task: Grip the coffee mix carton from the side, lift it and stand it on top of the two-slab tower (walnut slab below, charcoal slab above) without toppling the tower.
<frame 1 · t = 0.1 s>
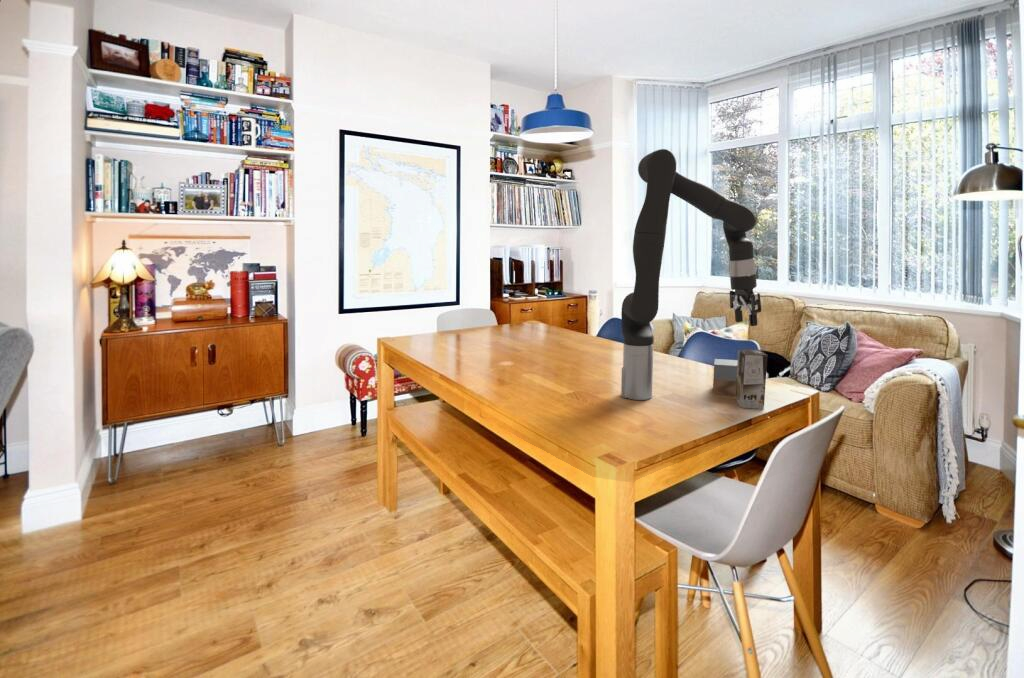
hand: (746, 323, 171), 22 cm above the table, tool pointing down, fingers open, 8 cm apart
coffee box: (749, 404, 160), on the table
slab top: (728, 377, 173), point 5 cm above the table, touching slab bottom
slab bottom: (727, 392, 174), on the table, touching slab top
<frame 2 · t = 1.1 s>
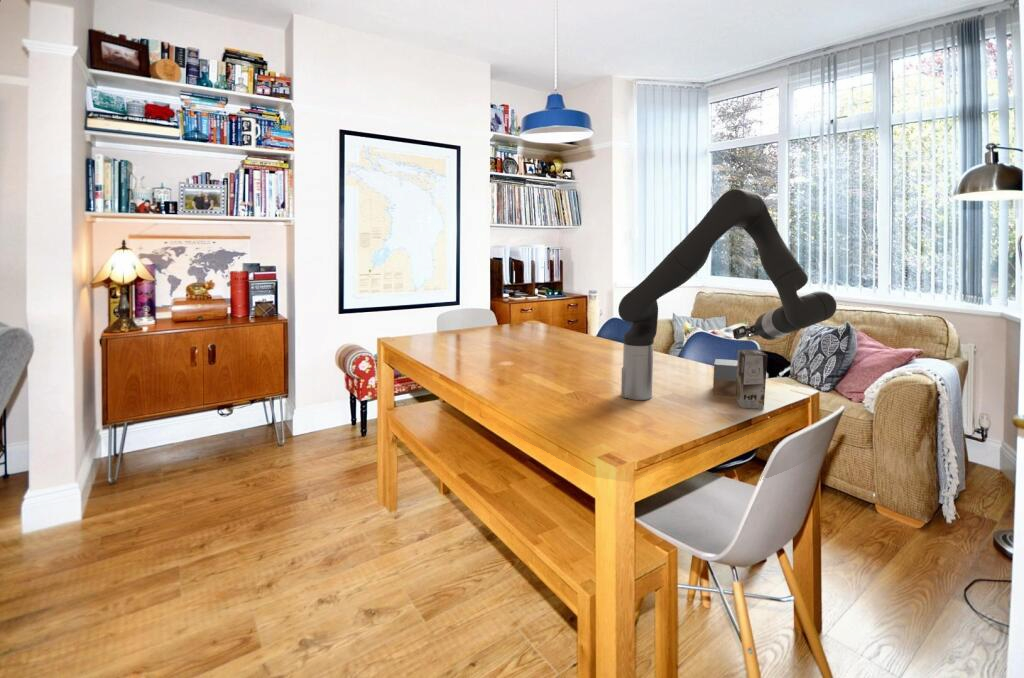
hand: (750, 334, 156), 22 cm above the table, tool tilted 70°, fingers open, 8 cm apart
nothing on the table moved.
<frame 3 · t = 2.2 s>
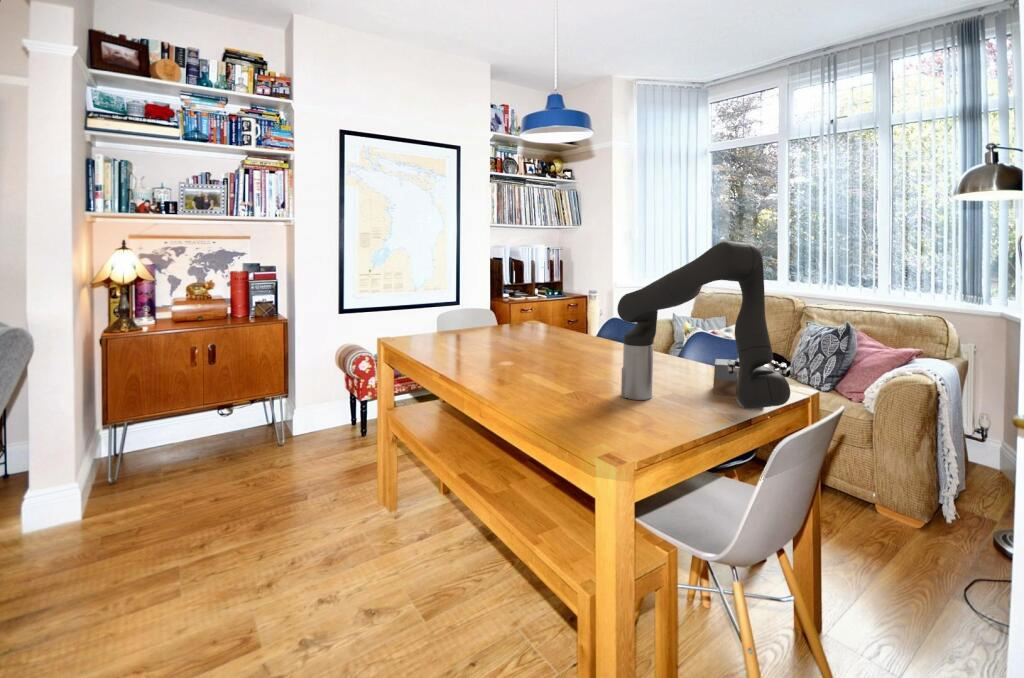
hand: (755, 362, 147), 15 cm above the table, tool horizontal, fingers open, 8 cm apart
nothing on the table moved.
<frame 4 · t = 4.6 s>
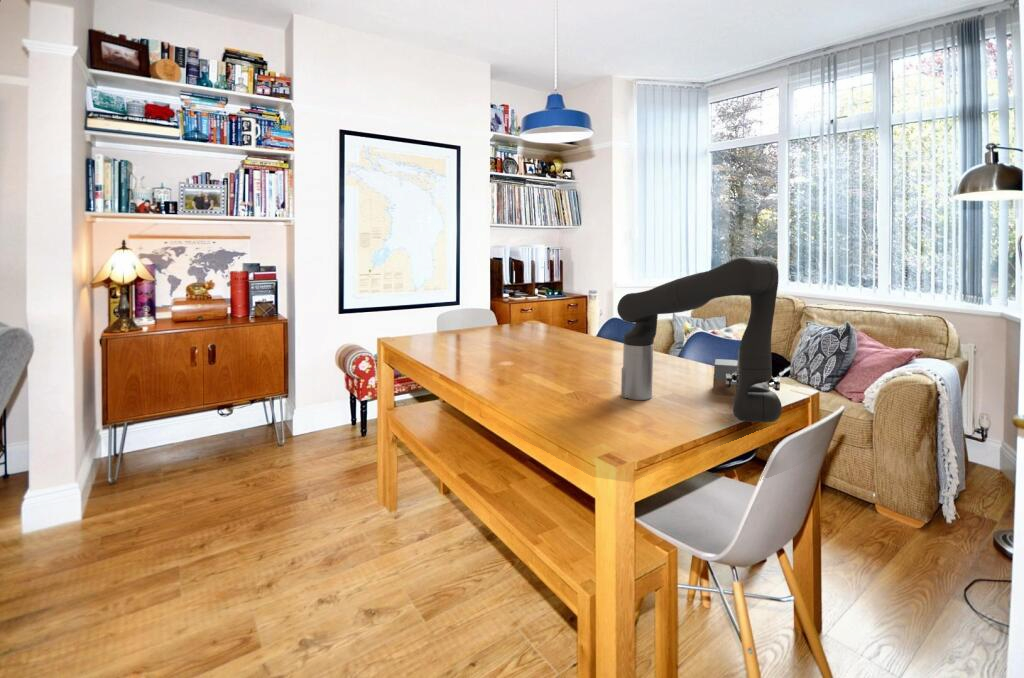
hand: (751, 375, 158), 9 cm above the table, tool horizontal, fingers open, 8 cm apart
nothing on the table moved.
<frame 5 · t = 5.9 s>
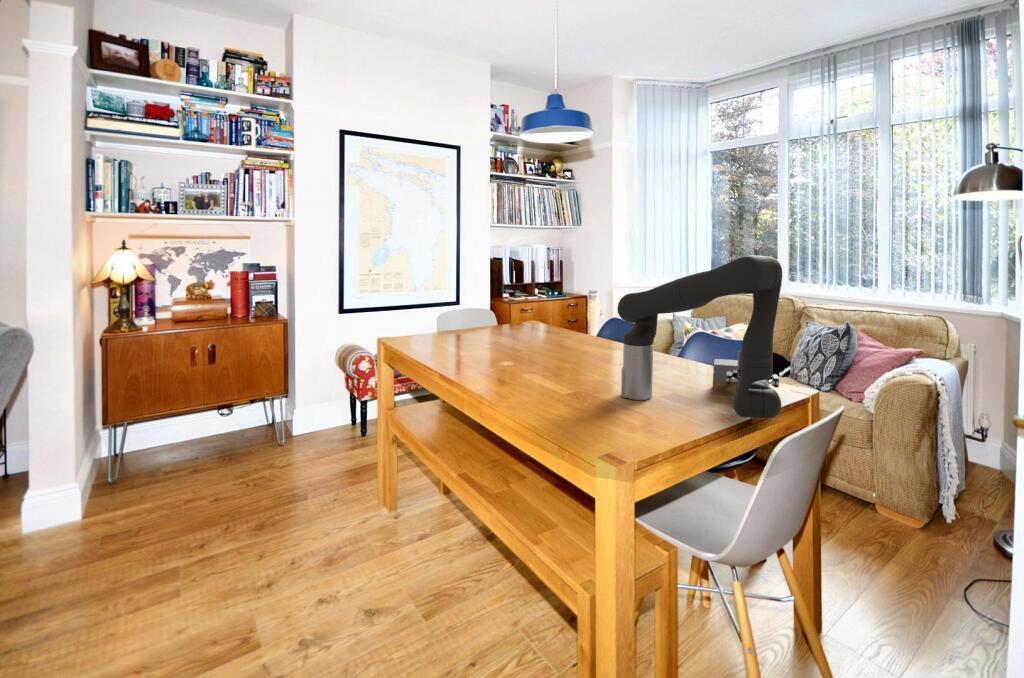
hand: (750, 373, 160), 9 cm above the table, tool horizontal, fingers closed on coffee box, 7 cm apart
coffee box: (749, 404, 160), on the table, touching gripper
everything else where it was.
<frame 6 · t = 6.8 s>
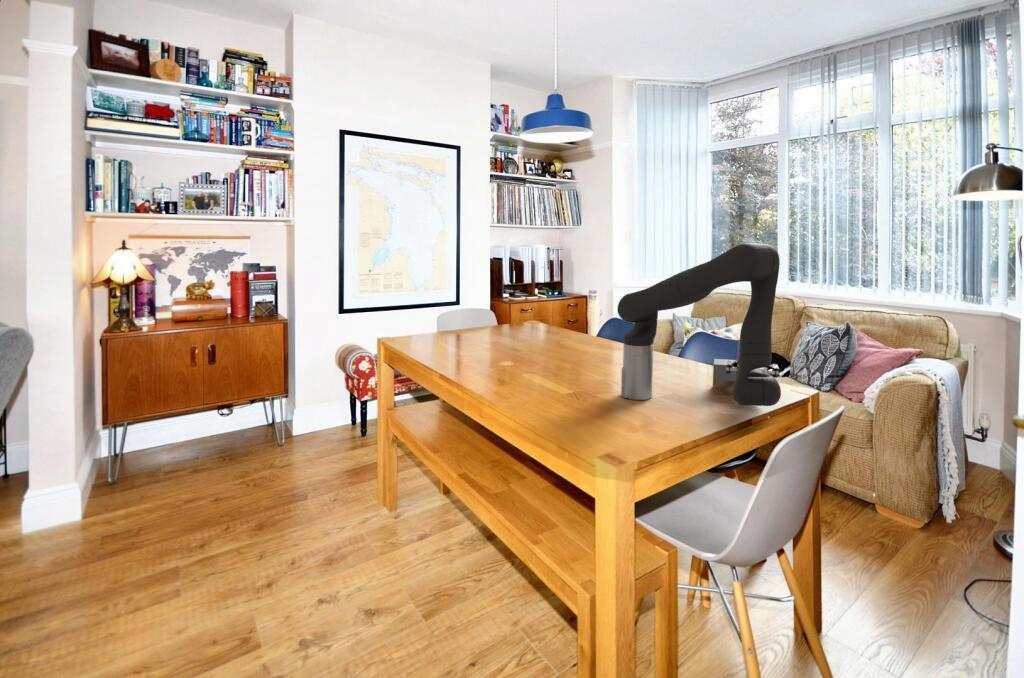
hand: (750, 363, 160), 12 cm above the table, tool horizontal, fingers closed on coffee box, 7 cm apart
coffee box: (748, 394, 160), point 3 cm above the table, touching gripper
everything else where it was.
when the fingers open (19 cm above the table, at t = 10.2 s): coffee box stays where it is, point 10 cm above the table.
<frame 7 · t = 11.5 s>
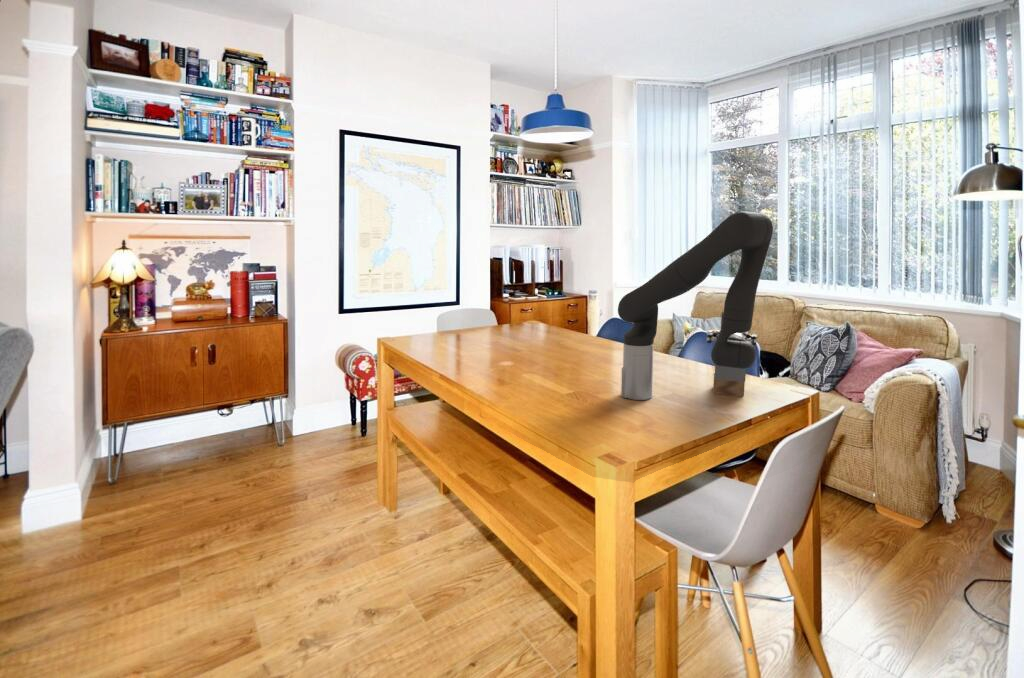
hand: (730, 334, 168), 19 cm above the table, tool horizontal, fingers open, 8 cm apart
coffee box: (730, 363, 172), point 10 cm above the table, touching gripper
everything else where it was.
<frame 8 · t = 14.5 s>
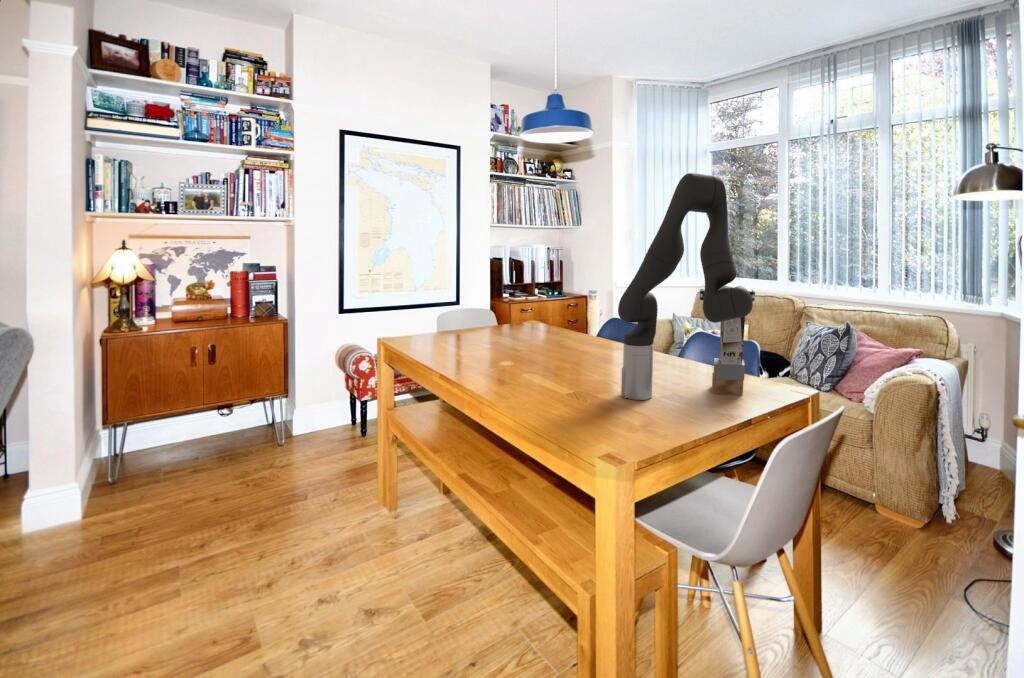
hand: (726, 292, 152), 34 cm above the table, tool horizontal, fingers open, 8 cm apart
coffee box: (730, 362, 173), point 10 cm above the table, touching slab top
slab top: (728, 376, 175), point 5 cm above the table, touching coffee box, slab bottom
at the end: coffee box inside the target area on the slab top (0.8 cm from its centre), point 4.8 cm above the slab top's base; coffee box tilted 0°; slab top tilted 0° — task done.
